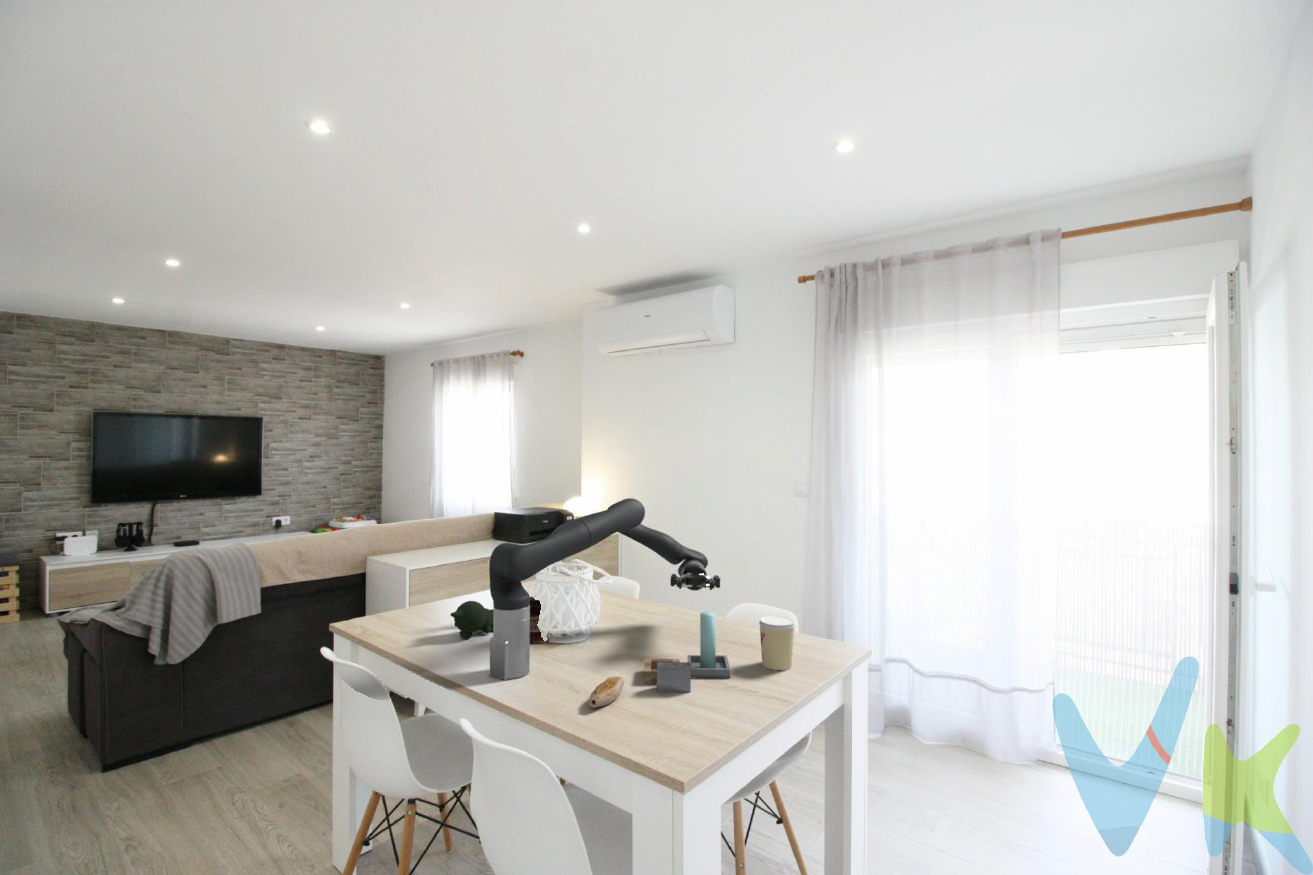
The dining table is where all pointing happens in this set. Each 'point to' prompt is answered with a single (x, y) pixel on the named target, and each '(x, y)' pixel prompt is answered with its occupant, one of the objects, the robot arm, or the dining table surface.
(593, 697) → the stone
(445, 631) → the dining table surface
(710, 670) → the tray
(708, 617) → the dowel
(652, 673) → the socket
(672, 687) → the gray rectangular block
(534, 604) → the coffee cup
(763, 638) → the coffee cup
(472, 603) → the toy figurine
